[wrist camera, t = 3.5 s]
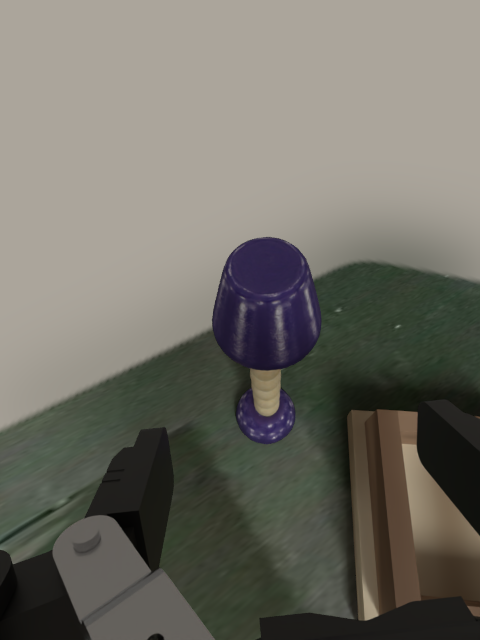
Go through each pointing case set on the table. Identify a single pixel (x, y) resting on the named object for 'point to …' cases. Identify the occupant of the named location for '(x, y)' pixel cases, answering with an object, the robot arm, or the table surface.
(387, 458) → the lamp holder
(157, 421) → the table surface
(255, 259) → the toy lamp
